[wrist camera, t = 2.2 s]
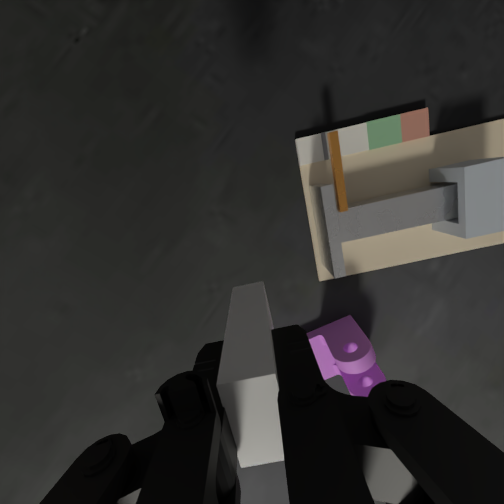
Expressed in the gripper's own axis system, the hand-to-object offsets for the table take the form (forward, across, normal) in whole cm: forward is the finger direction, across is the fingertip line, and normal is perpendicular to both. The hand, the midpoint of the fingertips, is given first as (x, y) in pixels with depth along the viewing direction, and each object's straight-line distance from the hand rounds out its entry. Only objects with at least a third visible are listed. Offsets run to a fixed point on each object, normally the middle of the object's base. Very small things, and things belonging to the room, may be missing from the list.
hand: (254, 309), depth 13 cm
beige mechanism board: (+15, +16, +2) cm, 22 cm away
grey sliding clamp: (+15, +13, +2) cm, 20 cm away
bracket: (+16, +3, -15) cm, 22 cm away
